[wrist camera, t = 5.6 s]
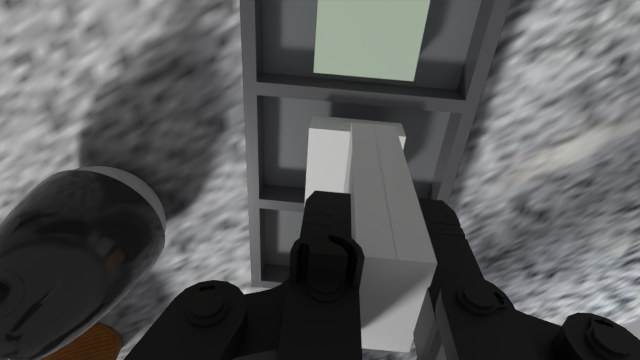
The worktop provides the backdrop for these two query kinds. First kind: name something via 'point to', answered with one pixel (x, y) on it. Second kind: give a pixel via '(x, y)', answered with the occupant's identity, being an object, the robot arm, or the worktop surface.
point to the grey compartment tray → (351, 109)
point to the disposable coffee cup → (91, 345)
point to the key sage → (369, 37)
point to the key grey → (332, 151)
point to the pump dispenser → (73, 256)
